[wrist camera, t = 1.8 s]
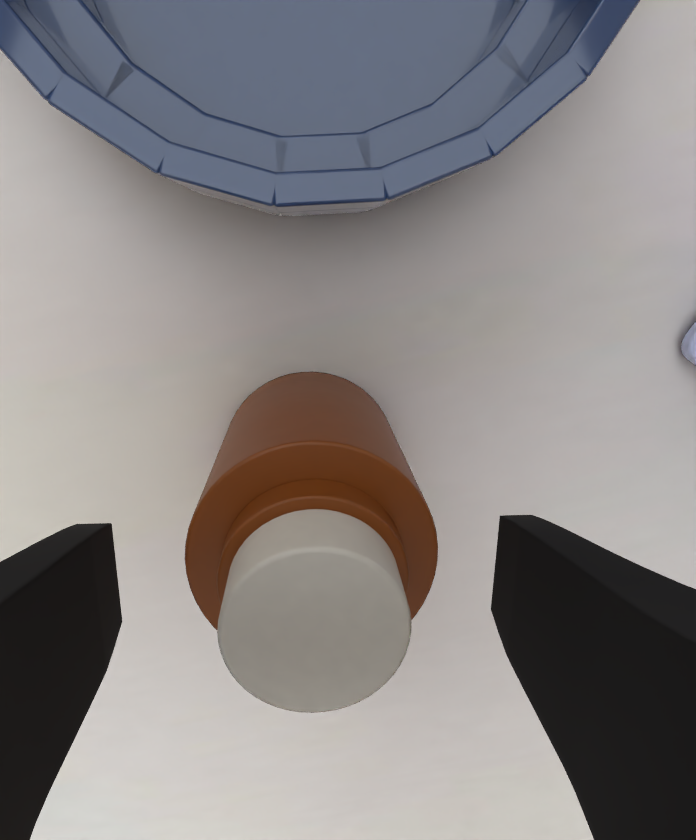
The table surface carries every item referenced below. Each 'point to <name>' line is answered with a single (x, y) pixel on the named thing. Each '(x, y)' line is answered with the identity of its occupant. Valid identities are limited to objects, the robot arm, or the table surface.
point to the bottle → (311, 545)
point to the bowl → (308, 86)
